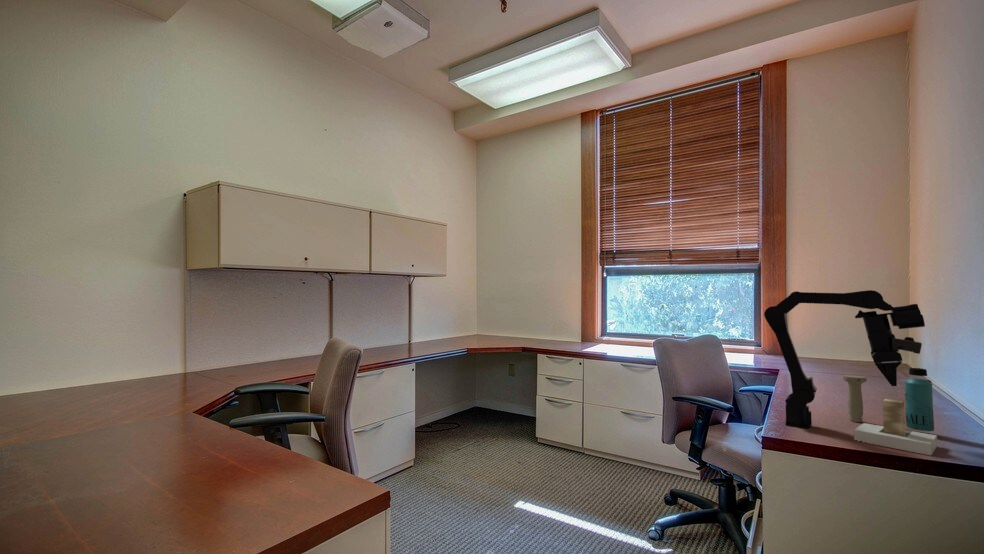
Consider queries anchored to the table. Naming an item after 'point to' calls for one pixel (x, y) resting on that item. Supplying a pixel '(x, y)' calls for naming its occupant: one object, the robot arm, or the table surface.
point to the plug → (894, 417)
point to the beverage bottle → (919, 401)
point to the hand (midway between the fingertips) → (893, 384)
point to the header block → (896, 439)
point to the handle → (855, 397)
